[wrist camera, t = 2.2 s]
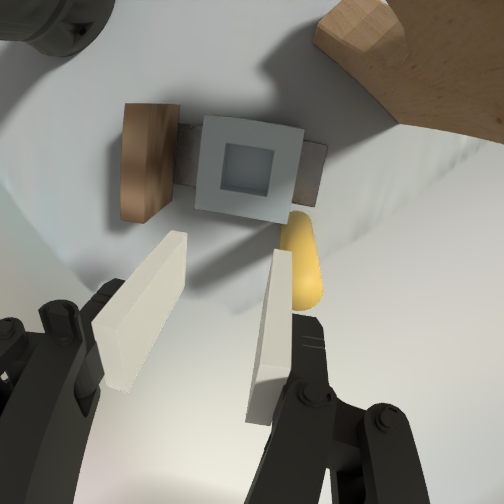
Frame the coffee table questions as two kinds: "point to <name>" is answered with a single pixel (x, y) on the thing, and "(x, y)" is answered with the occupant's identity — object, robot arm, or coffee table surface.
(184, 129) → the dark grey flat board
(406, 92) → the decorative block
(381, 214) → the coffee table surface
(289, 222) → the dowel
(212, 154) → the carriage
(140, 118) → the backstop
